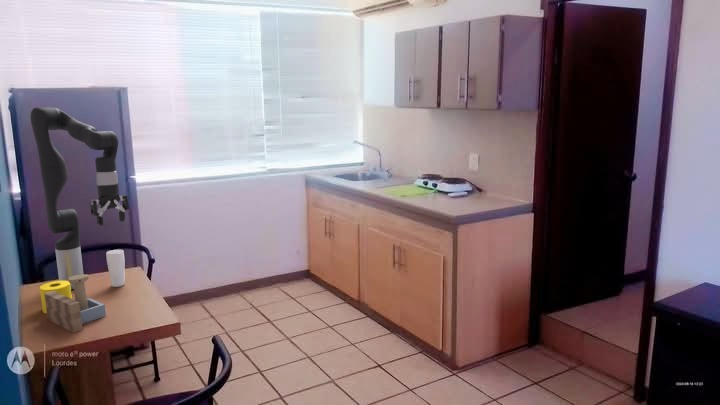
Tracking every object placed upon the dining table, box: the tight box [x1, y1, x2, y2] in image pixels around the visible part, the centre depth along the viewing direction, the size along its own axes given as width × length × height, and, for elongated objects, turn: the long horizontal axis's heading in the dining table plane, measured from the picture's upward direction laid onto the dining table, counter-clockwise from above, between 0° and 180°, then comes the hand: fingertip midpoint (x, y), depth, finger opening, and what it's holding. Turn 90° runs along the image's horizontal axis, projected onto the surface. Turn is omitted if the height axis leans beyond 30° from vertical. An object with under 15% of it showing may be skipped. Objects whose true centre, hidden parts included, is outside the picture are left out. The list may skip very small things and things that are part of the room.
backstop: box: [44, 291, 83, 334], centre depth 184 cm, size 19×3×10 cm, turn 54°
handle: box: [68, 273, 89, 311], centre depth 190 cm, size 5×6×15 cm
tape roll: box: [39, 280, 73, 314], centre depth 198 cm, size 10×10×9 cm
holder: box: [80, 297, 107, 325], centre depth 191 cm, size 11×11×5 cm
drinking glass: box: [105, 249, 126, 288], centre depth 222 cm, size 7×7×15 cm
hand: (111, 223), depth 206 cm, fingers open, 8 cm apart
